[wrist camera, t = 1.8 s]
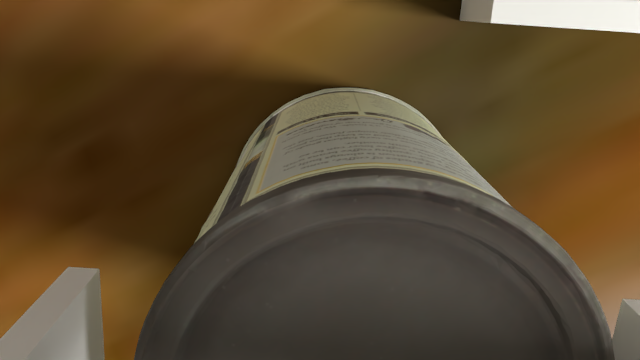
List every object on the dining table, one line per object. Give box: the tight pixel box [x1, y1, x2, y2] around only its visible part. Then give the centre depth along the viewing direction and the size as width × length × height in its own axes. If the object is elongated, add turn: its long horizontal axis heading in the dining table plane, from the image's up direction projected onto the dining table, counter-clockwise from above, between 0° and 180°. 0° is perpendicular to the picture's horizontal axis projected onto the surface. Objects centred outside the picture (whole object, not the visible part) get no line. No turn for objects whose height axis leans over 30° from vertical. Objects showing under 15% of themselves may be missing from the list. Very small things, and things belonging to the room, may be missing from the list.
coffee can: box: [134, 88, 615, 360], centre depth 19 cm, size 10×10×14 cm
